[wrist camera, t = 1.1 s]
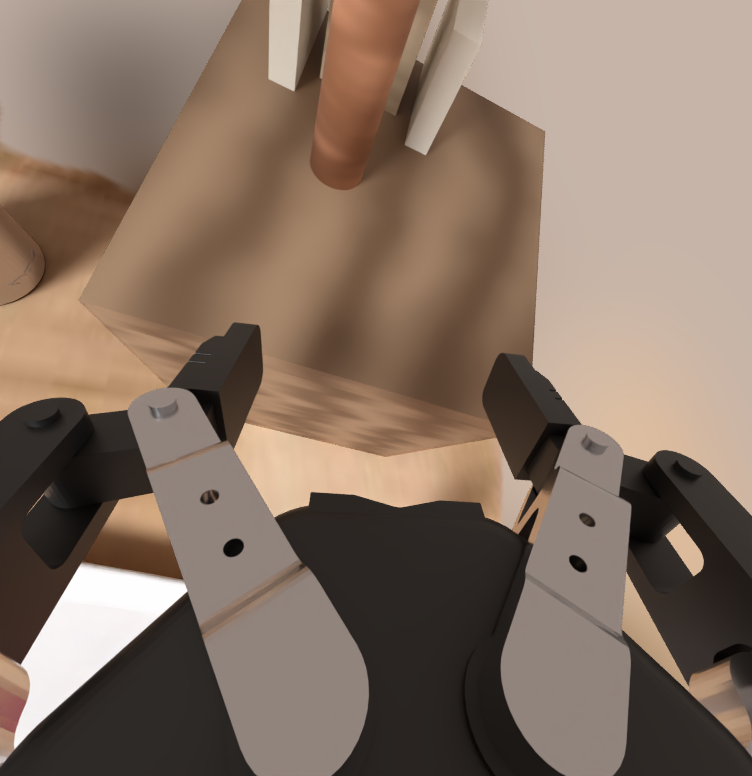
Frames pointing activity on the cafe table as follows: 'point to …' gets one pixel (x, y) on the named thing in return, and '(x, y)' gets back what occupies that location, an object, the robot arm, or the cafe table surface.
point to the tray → (90, 632)
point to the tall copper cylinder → (362, 80)
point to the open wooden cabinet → (332, 254)
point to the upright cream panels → (440, 69)
